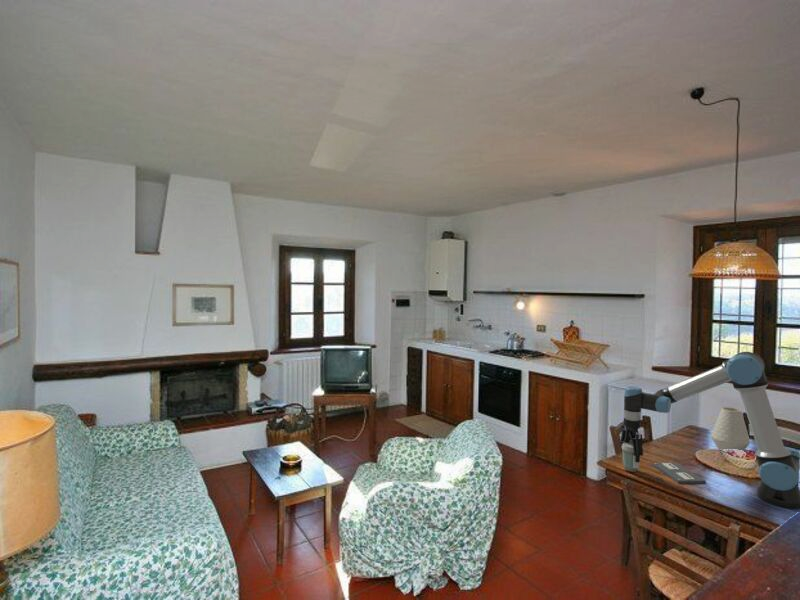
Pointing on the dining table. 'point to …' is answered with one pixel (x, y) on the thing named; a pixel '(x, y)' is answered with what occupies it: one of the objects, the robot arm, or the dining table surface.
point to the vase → (730, 430)
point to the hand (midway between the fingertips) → (630, 464)
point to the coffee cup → (628, 457)
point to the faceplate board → (678, 473)
